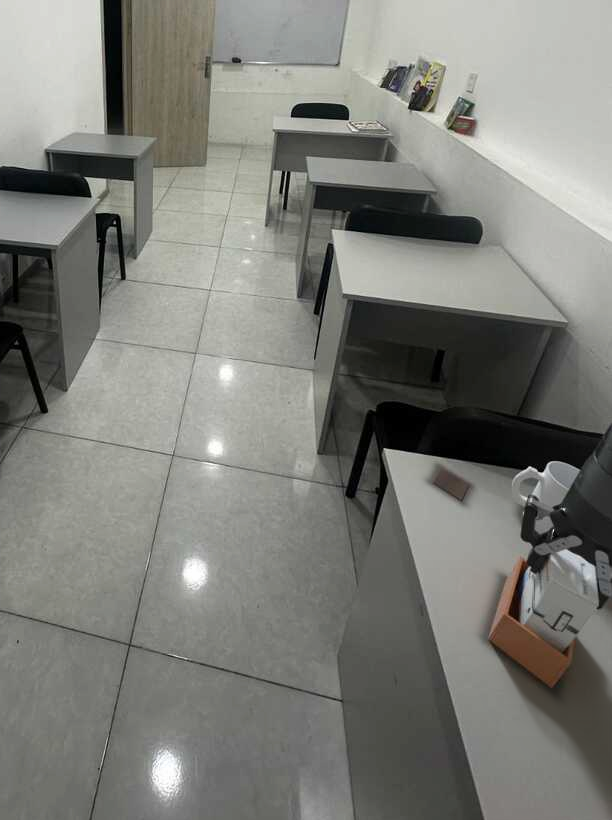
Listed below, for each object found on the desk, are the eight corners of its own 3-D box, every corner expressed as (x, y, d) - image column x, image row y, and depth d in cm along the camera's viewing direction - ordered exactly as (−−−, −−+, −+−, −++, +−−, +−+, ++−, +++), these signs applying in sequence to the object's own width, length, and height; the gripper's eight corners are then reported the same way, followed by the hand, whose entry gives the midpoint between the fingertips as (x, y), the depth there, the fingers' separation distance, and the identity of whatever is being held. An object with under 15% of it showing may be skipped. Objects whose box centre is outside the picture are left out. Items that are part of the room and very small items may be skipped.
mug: (563, 521, 86) (592, 473, 81) (570, 553, 80) (602, 504, 75) (497, 493, 90) (522, 446, 85) (500, 521, 85) (526, 473, 80)
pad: (468, 486, 91) (469, 484, 91) (460, 502, 87) (461, 500, 87) (440, 469, 94) (440, 467, 94) (431, 484, 91) (432, 482, 90)
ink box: (518, 580, 72) (548, 528, 67) (559, 602, 69) (593, 550, 65) (517, 633, 65) (551, 579, 61) (562, 660, 63) (601, 606, 58)
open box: (562, 622, 70) (581, 595, 68) (550, 689, 63) (571, 662, 60) (504, 582, 75) (520, 556, 72) (486, 640, 67) (503, 613, 65)
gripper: (698, 519, 56) (631, 607, 62) (547, 444, 65) (504, 528, 71) (701, 564, 51) (628, 655, 57) (538, 477, 60) (492, 564, 66)
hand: (559, 584), depth 64 cm, fingers closed on ink box, 5 cm apart
